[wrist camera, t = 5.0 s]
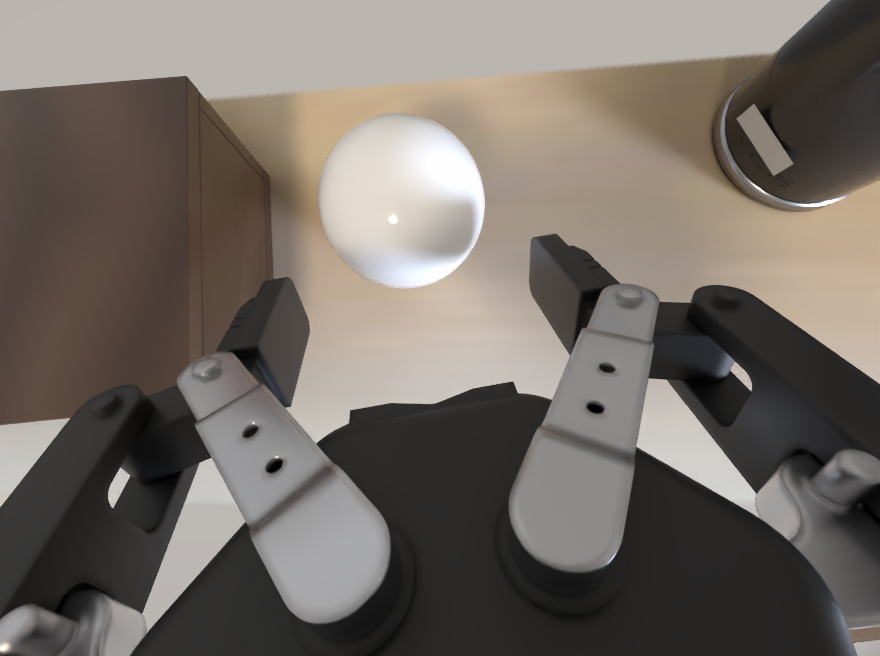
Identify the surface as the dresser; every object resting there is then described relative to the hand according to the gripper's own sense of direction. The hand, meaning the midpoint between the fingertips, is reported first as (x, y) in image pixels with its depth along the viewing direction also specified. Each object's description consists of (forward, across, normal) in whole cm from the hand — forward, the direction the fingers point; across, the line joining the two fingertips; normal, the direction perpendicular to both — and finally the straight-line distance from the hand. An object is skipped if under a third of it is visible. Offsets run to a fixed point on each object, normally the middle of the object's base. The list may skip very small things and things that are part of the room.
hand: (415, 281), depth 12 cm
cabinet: (+10, +15, +3) cm, 18 cm away
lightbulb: (+9, 0, +4) cm, 10 cm away
